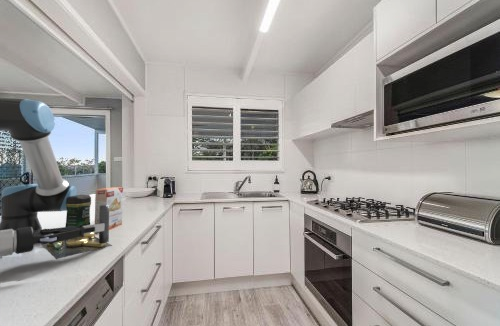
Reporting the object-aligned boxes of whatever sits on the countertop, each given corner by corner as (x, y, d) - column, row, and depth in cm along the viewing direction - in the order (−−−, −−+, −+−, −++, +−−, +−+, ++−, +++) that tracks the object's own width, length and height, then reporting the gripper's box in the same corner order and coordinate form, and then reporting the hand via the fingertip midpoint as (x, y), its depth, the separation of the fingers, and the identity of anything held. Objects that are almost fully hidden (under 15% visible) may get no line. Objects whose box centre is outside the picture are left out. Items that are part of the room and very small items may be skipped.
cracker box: (106, 233, 109) (107, 189, 110) (93, 233, 109) (94, 189, 110) (123, 226, 123) (123, 186, 124) (111, 226, 123) (112, 186, 124)
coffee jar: (78, 238, 101) (79, 196, 102) (60, 238, 102) (61, 196, 102) (94, 232, 111) (94, 193, 111) (78, 232, 111) (78, 193, 112)
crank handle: (61, 246, 88) (62, 205, 89) (78, 240, 95) (79, 202, 96) (99, 249, 85) (100, 207, 85) (114, 243, 92) (115, 204, 92)
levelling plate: (41, 247, 90) (41, 239, 90) (92, 237, 104) (92, 230, 104) (56, 261, 77) (56, 252, 77) (112, 248, 90) (112, 240, 90)
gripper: (12, 249, 73) (98, 233, 91) (16, 259, 65) (109, 240, 83) (13, 225, 73) (98, 214, 91) (17, 232, 65) (110, 219, 83)
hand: (103, 226), depth 87 cm, fingers closed
